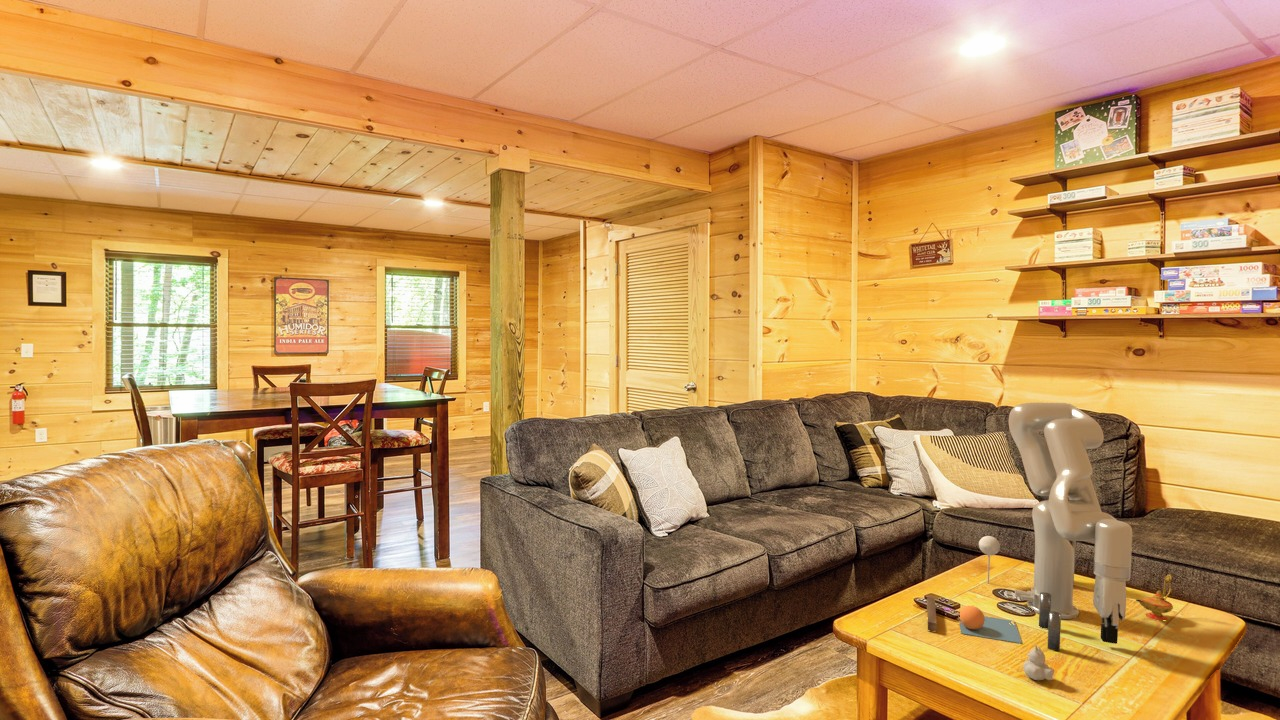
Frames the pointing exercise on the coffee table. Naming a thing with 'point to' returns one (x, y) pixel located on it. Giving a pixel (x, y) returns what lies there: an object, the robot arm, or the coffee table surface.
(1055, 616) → the post
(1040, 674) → the grey lumpy figure
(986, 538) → the lollipop
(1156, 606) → the magic lamp
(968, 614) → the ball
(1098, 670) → the coffee table surface
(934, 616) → the wall
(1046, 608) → the post
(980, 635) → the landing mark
